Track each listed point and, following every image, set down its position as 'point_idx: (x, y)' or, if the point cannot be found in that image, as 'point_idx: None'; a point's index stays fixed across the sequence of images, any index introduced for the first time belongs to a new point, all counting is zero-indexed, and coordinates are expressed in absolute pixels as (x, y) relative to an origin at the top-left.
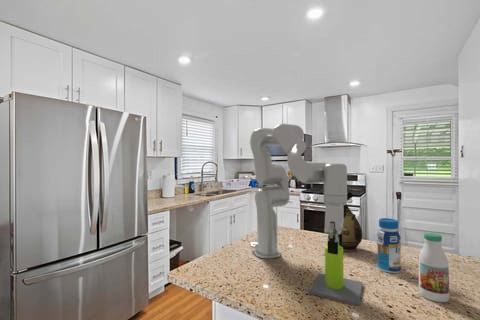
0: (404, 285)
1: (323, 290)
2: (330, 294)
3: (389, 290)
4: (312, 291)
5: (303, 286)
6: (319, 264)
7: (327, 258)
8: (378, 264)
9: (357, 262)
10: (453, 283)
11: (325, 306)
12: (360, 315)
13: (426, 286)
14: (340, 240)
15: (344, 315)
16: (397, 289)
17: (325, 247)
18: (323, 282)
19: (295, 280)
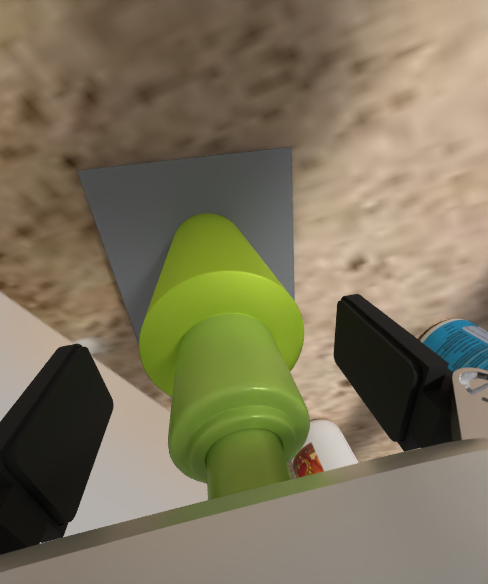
0: (343, 390)
1: (131, 228)
2: (120, 262)
3: (294, 373)
4: (83, 188)
5: (126, 116)
6: (420, 101)
7: (159, 279)
8: (450, 329)
9: (479, 252)
10: (396, 446)
11: (46, 264)
12: (93, 357)
13: (301, 462)
14: (356, 384)
15: (51, 327)
16: (311, 384)
17: (167, 291)
18: (204, 202)
19: (157, 38)
